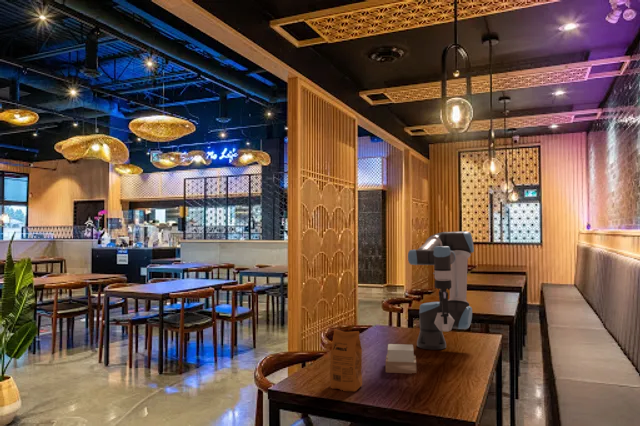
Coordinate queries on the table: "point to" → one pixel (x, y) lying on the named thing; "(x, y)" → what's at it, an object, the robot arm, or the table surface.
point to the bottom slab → (400, 366)
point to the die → (439, 321)
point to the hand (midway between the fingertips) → (444, 328)
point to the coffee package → (346, 361)
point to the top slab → (400, 353)
